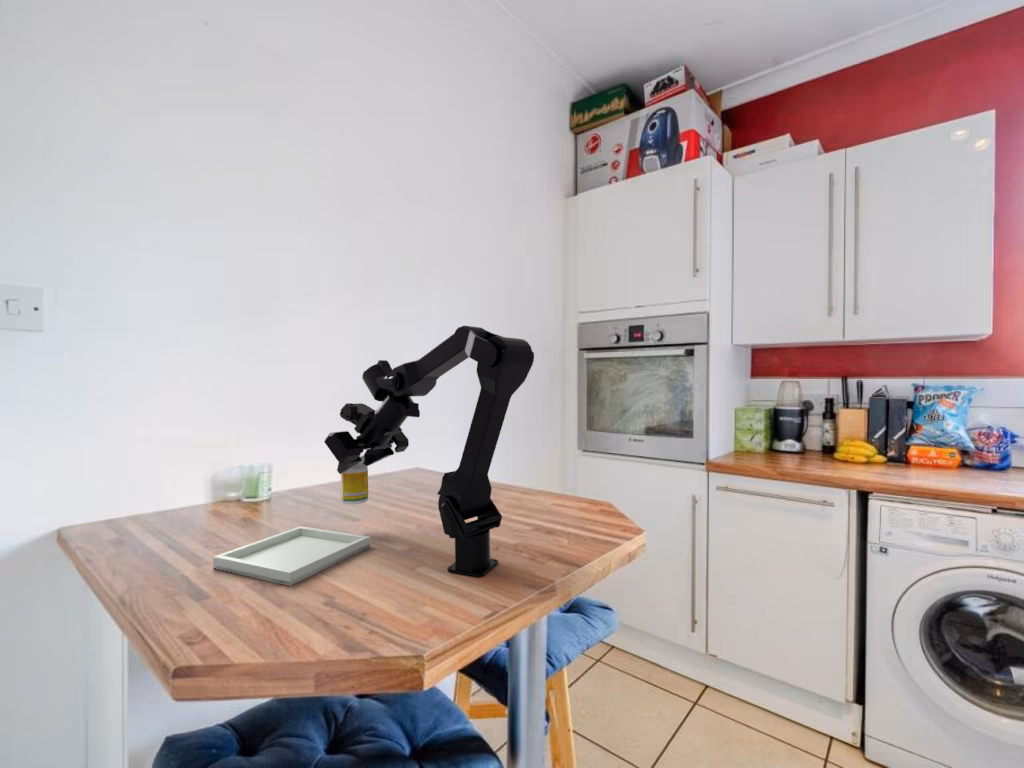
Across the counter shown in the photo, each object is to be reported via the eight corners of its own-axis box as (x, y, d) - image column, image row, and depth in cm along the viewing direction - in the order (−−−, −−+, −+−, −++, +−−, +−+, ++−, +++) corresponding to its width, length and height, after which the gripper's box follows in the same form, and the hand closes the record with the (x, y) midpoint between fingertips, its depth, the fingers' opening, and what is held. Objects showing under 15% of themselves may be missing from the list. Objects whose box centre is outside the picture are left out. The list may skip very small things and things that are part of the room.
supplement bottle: (337, 501, 95) (336, 456, 95) (363, 497, 99) (362, 453, 99) (346, 506, 91) (345, 458, 91) (372, 501, 94) (371, 455, 95)
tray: (289, 585, 70) (289, 572, 70) (213, 568, 77) (213, 556, 77) (370, 547, 86) (370, 536, 86) (300, 535, 93) (300, 526, 93)
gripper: (397, 389, 102) (361, 437, 107) (330, 390, 85) (291, 447, 90) (426, 424, 98) (388, 473, 103) (362, 432, 81) (320, 490, 86)
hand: (349, 469), depth 96 cm, fingers closed on supplement bottle, 5 cm apart
